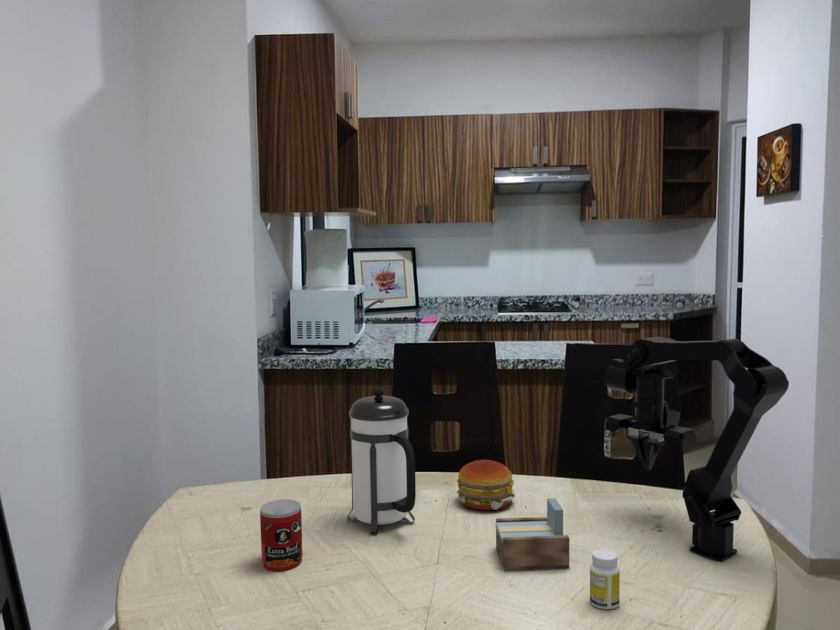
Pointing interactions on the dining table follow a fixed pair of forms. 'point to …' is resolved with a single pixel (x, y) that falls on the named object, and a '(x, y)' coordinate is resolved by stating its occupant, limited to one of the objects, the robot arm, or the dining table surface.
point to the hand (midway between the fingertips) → (648, 469)
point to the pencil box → (532, 550)
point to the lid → (535, 524)
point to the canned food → (281, 534)
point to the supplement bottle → (604, 579)
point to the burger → (485, 485)
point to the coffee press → (381, 461)
